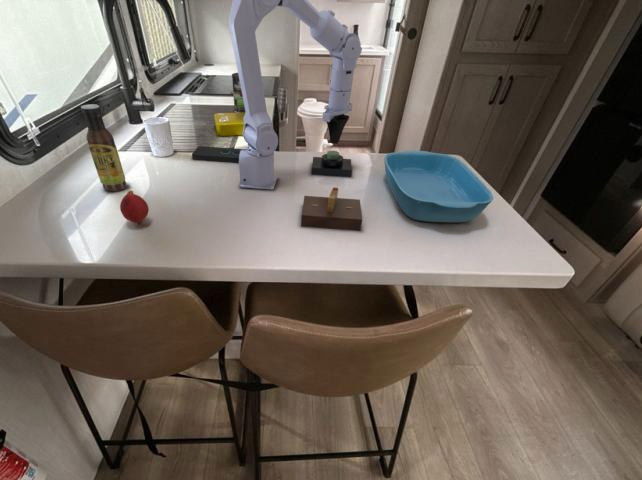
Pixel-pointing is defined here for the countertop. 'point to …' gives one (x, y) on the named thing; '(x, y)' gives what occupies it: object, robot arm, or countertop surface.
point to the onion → (134, 207)
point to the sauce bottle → (103, 150)
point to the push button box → (331, 166)
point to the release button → (332, 155)
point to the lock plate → (331, 213)
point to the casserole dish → (435, 187)
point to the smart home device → (217, 154)
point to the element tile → (229, 124)
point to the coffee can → (237, 94)
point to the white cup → (159, 136)
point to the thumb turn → (332, 199)
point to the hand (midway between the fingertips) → (334, 142)
